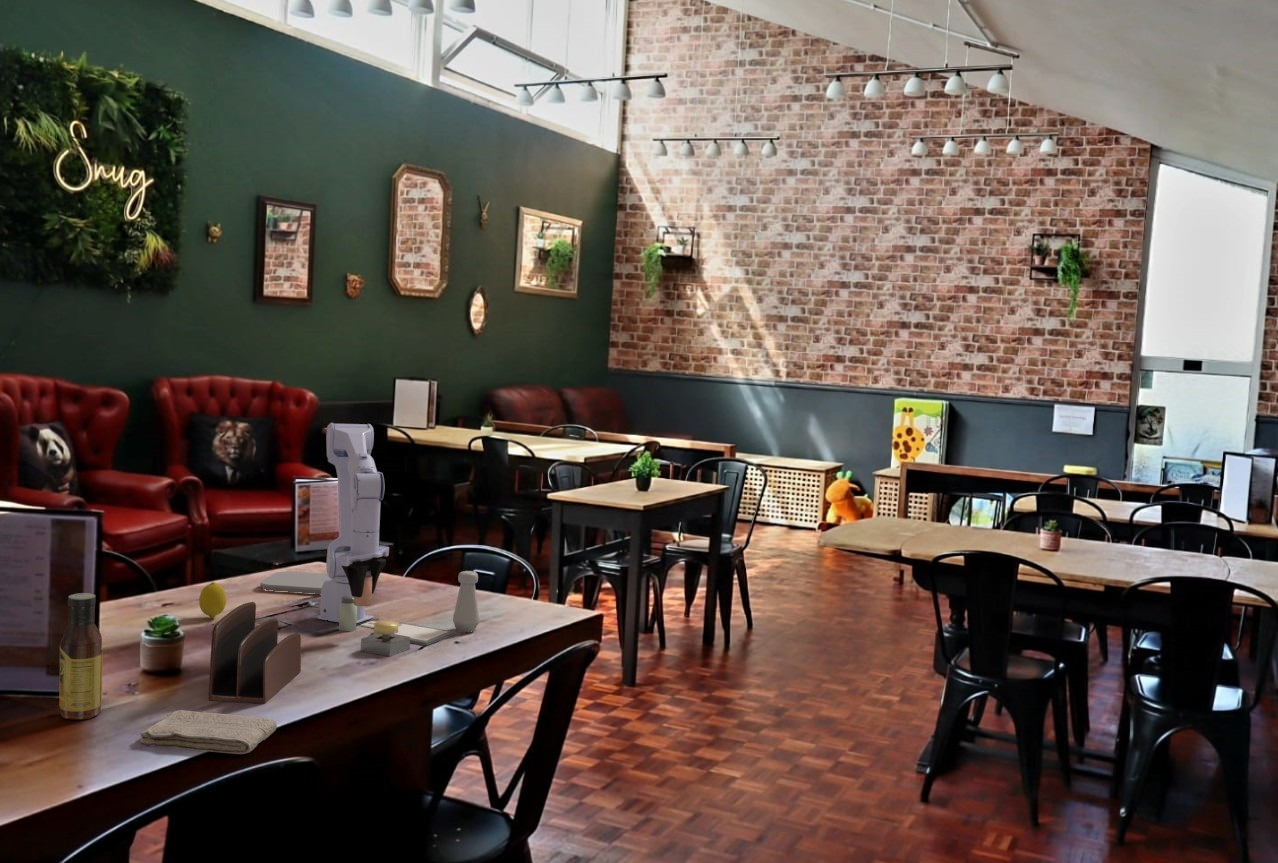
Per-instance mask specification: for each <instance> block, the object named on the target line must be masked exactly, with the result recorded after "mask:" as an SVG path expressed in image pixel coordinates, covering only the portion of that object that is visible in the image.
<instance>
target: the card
mask: <svg viewBox="0 0 1278 863" xmlns="http://www.w3.org/2000/svg"><path fill="white" fill-rule="evenodd" d="M376 622H377V621H374V620H371V621H368V622H365V623H362V624H360V626H361V627H365V628H371V629H374V623H376Z"/></svg>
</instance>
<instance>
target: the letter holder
mask: <svg viewBox="0 0 1278 863" xmlns="http://www.w3.org/2000/svg"><path fill="white" fill-rule="evenodd" d="M256 614H257V604H256V602H255V601H250V602H245V603H242V604H240V605H238V606H237V607H235V608H234V609H232V610H230V612H228V613H227V614H225V615H224V616H223V617H222V618H221V619H219V620H218V621H217V623H215V625H214V626H213V628H212V633H211V643H210V645H211V647H210V648H211V649H210V664H209V667H210V668H209V680H208V682H209V684H208V699H207V700H208V701H212V702H213V701H214V702H225V703H226V702H229V703H240V704H241V703H242V704H243V703H244V704H246V703H247V704H258V705H265V704H266V703H267V702H269V701H270V700H271V699H272V698H273V697H274V696H275V695H277V693H279V692H280V691H281V690H283V688H285V687H286V686H287V685H288V684H289V683H290V682H291V681H292V680H293V679H295V678H296V677H297V676H298V675H299V674H300V673H301V672H302V636H301V633H300V631H299V632H293V633H291V634H290V635H287V636H286V637H285V638H283V639H282V640H280V641H279V640H278V636H279V634H278V633H279V632H278V631H279V620H278V618H270V619H267V620H265V621H263V622H261V623H260V624H258V625H257V626H256Z"/></svg>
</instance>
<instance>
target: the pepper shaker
mask: <svg viewBox="0 0 1278 863" xmlns="http://www.w3.org/2000/svg"><path fill="white" fill-rule="evenodd" d="M372 598H373V597H372V575H371V571H369V570H367V573H366V576H365V580H364V586H363V594H362V597H354V605H355V606H366V607H369V606H371V605H372Z"/></svg>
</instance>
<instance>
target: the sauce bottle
mask: <svg viewBox="0 0 1278 863" xmlns="http://www.w3.org/2000/svg"><path fill="white" fill-rule="evenodd" d="M96 599H97V597H96V594H94V593H89V592H86V593H85V592H81V593H74V594H69V595H68V597H67V606H68V620H67V621H68V622H67V625H66V628H65V631H64V633H63V636H62V638H61V641H60V643H59V679H58V680H59V687H58V690H59V693H58V694H59V696H58V697H59V698H58V699H59V703H58V706H59V707H58V708H60V712H59V713H60V715H61V717H62V718H63V719H66V720H67V719H68V720H75V721H77V720H80V721H81V720H89V719H91V718H94V717H96V716H98V715H100V713H101V710H102V702H103V649H102V648H103V637H102V633H101V631H100V630H99V628H98V627H97V625H96V624H95V606H96Z"/></svg>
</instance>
